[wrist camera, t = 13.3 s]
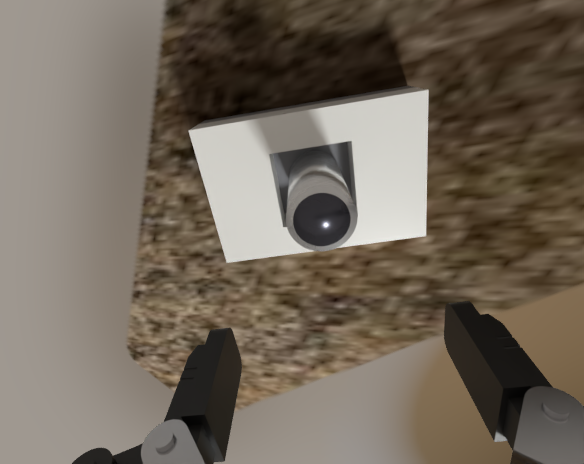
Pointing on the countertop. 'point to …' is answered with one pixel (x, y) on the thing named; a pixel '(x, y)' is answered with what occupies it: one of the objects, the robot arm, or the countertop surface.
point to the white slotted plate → (323, 137)
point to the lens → (319, 203)
